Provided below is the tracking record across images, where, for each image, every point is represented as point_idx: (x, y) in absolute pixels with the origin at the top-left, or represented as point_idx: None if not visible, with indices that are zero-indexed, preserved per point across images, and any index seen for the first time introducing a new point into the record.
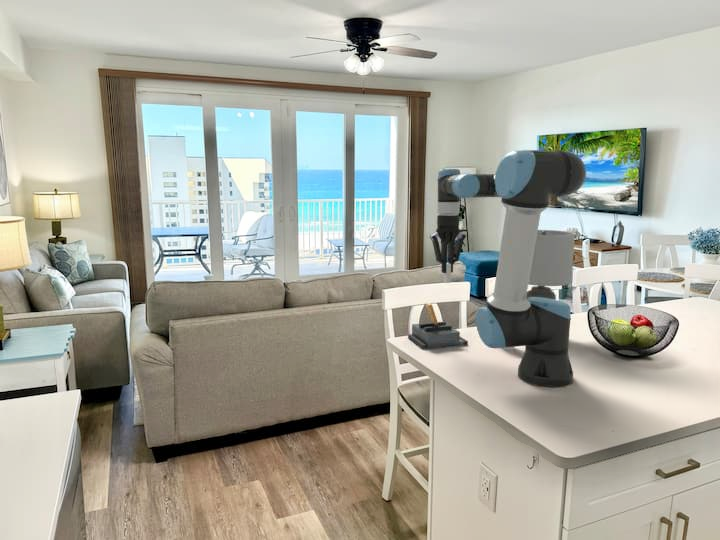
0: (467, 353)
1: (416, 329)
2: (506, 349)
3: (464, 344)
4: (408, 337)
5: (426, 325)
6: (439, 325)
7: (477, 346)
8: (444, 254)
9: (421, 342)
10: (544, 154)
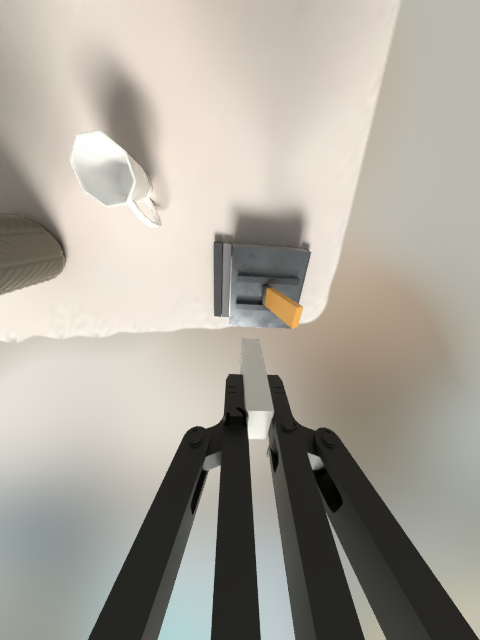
0: (242, 187)
1: None
2: (146, 174)
3: (221, 242)
4: None
5: None
6: (250, 302)
7: (199, 226)
8: (320, 503)
9: None
10: None
